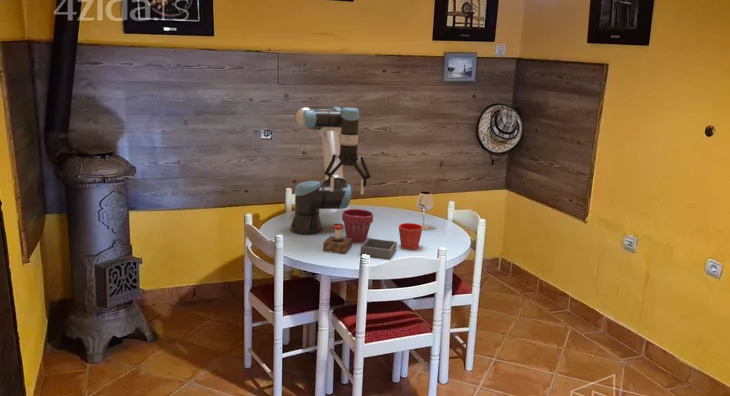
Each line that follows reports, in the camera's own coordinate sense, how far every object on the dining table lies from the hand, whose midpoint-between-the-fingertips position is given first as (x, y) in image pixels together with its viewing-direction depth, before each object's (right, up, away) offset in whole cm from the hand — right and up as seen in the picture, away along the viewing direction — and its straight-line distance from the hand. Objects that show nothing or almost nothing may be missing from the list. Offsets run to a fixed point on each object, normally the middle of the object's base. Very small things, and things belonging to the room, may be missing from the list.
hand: (346, 192), depth 266 cm
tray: (+14, -26, -2) cm, 30 cm away
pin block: (-4, -25, +1) cm, 25 cm away
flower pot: (+28, -25, +9) cm, 38 cm away
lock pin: (-4, -25, +1) cm, 25 cm away
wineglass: (+37, -17, +40) cm, 57 cm away
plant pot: (+4, -22, +16) cm, 27 cm away
